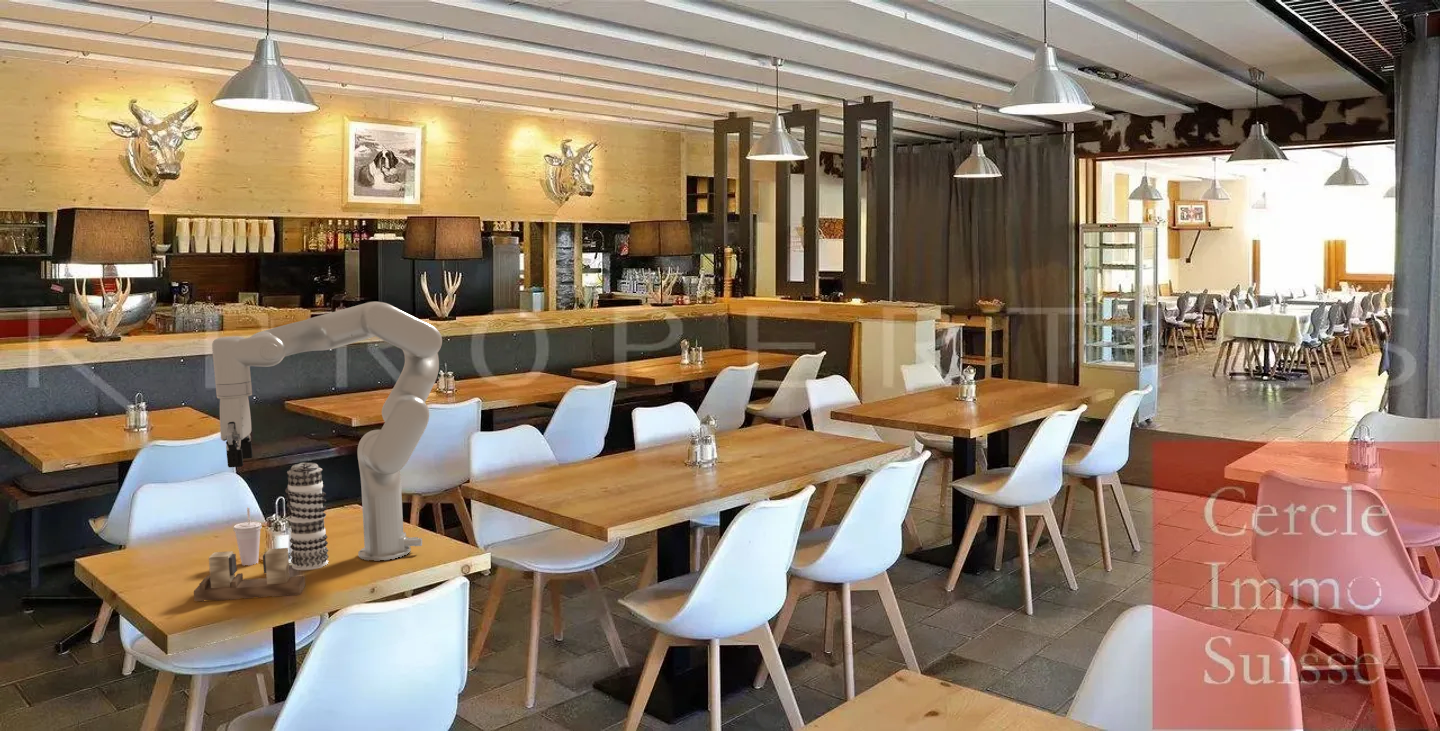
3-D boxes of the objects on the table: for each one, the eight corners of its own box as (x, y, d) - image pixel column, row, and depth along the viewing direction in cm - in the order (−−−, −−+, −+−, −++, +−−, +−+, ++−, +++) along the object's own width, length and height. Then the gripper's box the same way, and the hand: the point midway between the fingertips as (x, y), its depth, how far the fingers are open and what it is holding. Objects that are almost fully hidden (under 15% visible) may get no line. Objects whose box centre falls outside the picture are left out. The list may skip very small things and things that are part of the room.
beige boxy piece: (210, 588, 235) (208, 557, 234) (216, 582, 239) (214, 552, 238) (233, 586, 236) (230, 556, 235) (237, 581, 240) (235, 551, 239)
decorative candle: (289, 562, 262) (282, 462, 259) (328, 557, 266) (322, 459, 263) (290, 572, 254) (284, 470, 251) (331, 567, 257) (325, 466, 254)
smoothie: (253, 567, 258) (249, 511, 256) (230, 566, 259) (226, 510, 258) (269, 560, 264) (265, 505, 263) (246, 558, 266) (242, 504, 264)
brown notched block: (305, 586, 243) (302, 545, 242) (299, 594, 238) (297, 553, 236) (202, 593, 239) (199, 552, 238) (194, 602, 233) (191, 560, 232)
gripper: (225, 386, 254) (232, 456, 256) (206, 396, 237) (213, 471, 239) (259, 384, 255) (265, 454, 257) (242, 394, 239) (249, 469, 241)
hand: (240, 462), depth 248 cm, fingers open, 9 cm apart
